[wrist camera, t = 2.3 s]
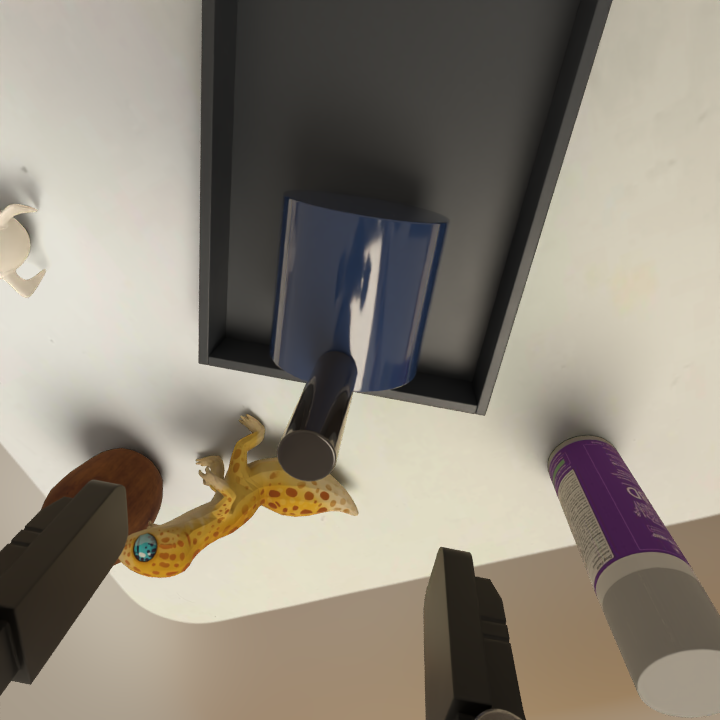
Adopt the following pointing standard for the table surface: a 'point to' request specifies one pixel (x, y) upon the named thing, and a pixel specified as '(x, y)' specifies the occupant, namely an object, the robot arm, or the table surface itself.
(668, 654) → the container
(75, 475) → the wooden figurine
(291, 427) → the blue saucepan
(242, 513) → the toy
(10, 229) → the rocket toy
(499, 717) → the robot arm
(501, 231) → the tray
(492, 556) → the table surface
